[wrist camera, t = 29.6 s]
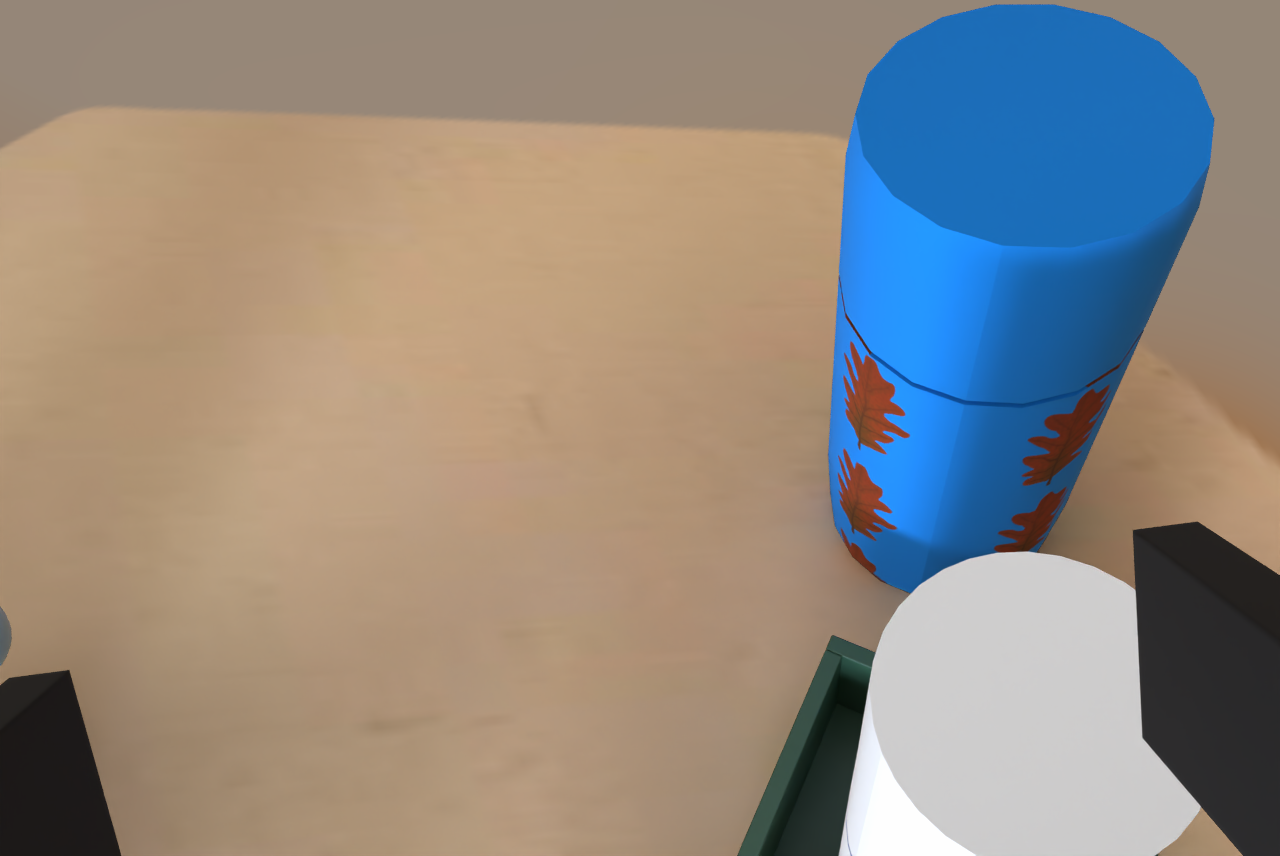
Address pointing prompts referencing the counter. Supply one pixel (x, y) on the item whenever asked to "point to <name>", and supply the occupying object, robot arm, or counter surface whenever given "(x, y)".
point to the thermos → (998, 272)
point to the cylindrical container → (1011, 721)
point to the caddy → (816, 762)
